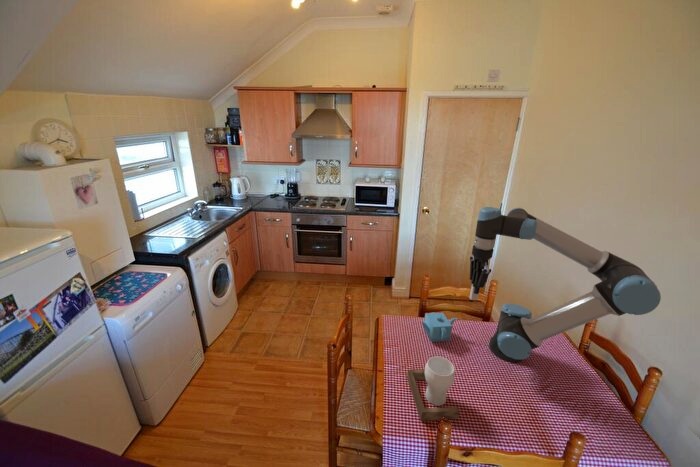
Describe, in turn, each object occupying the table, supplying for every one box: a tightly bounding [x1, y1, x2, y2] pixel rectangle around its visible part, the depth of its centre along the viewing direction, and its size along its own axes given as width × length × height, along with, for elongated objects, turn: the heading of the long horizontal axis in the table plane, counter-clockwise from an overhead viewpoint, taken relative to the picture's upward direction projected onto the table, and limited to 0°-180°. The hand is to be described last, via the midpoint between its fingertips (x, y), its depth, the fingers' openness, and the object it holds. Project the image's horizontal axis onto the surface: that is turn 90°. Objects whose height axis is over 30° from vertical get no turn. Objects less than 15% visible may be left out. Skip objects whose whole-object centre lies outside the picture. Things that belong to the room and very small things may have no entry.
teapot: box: [420, 312, 458, 343], centre depth 145 cm, size 16×18×11 cm
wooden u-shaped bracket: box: [406, 368, 461, 422], centre depth 113 cm, size 14×19×4 cm
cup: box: [424, 356, 456, 406], centre depth 111 cm, size 11×11×15 cm
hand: (473, 298), depth 125 cm, fingers closed
